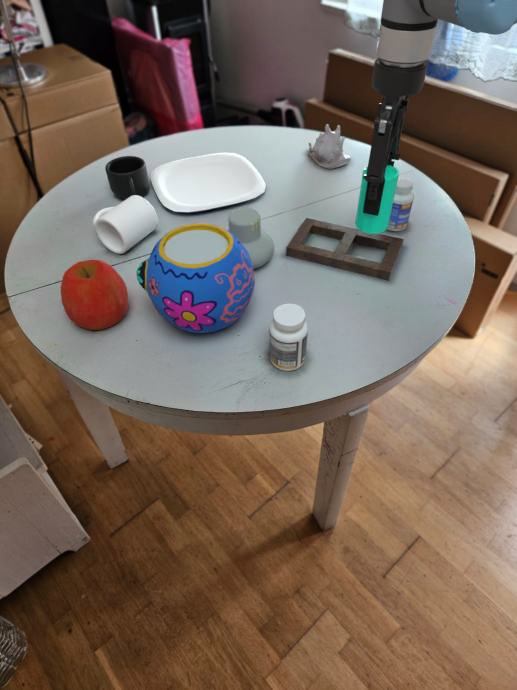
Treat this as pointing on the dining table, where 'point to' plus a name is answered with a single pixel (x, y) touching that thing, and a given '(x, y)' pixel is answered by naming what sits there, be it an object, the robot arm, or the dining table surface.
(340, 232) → the holder
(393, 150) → the robot arm
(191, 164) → the plate
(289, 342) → the pill bottle
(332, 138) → the seashell
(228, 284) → the ceramic pot
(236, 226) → the air freshener
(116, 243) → the mug
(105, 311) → the apple
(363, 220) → the candle
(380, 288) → the dining table surface
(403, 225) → the pill bottle
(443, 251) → the dining table surface
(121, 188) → the mug
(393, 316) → the dining table surface
